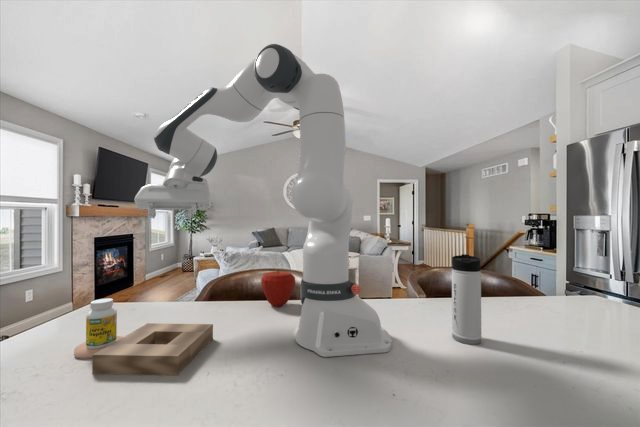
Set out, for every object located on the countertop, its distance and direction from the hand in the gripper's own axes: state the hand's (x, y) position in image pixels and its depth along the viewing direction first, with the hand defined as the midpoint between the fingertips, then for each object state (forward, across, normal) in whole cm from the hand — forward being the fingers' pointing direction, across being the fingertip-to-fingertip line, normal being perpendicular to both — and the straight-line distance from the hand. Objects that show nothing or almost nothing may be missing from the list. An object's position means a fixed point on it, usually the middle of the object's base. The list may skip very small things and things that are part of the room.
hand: (169, 216), depth 80 cm
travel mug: (+40, +74, +2) cm, 84 cm away
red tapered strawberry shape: (+14, +31, +28) cm, 44 cm away
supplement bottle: (+30, -9, +10) cm, 33 cm away
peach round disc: (+31, -9, +10) cm, 34 cm away
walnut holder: (+35, +4, +7) cm, 36 cm away
